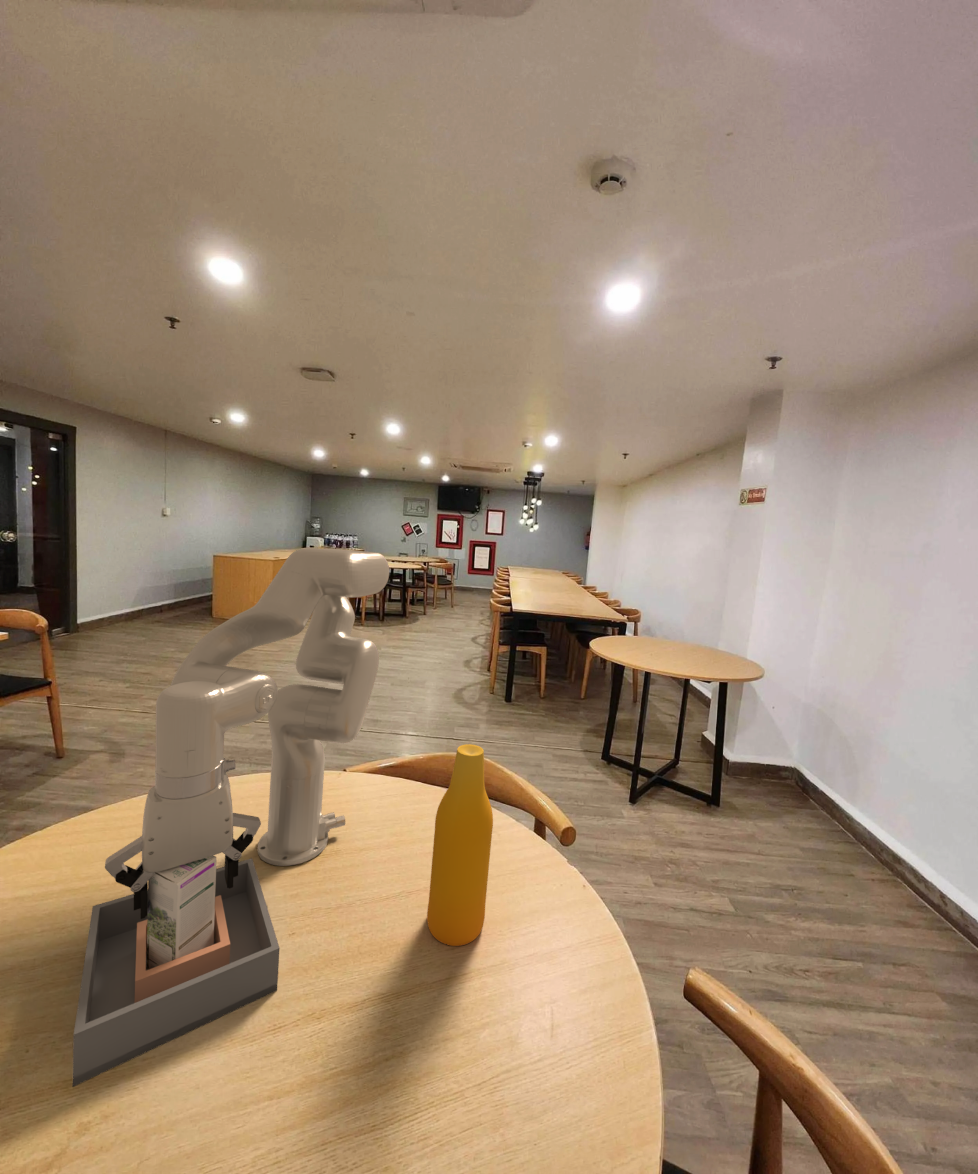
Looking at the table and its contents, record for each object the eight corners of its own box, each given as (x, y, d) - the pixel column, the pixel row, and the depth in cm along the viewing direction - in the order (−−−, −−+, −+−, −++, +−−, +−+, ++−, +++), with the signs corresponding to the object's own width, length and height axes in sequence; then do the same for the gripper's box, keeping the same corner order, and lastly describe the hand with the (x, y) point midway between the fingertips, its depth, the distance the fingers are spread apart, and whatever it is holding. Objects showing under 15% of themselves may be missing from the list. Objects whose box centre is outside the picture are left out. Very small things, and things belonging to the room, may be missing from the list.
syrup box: (215, 952, 63) (219, 853, 62) (173, 989, 58) (177, 881, 57) (186, 937, 65) (190, 841, 64) (143, 971, 60) (146, 867, 59)
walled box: (250, 892, 76) (252, 858, 75) (277, 990, 60) (279, 948, 59) (91, 946, 64) (92, 906, 63) (72, 1087, 48) (73, 1035, 47)
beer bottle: (493, 917, 75) (509, 748, 73) (464, 959, 67) (482, 770, 65) (447, 893, 79) (460, 733, 77) (414, 930, 71) (429, 751, 69)
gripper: (257, 751, 68) (253, 856, 70) (107, 779, 58) (107, 903, 59) (267, 774, 62) (263, 889, 64) (102, 810, 52) (102, 947, 53)
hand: (188, 895), depth 62 cm, fingers open, 9 cm apart
